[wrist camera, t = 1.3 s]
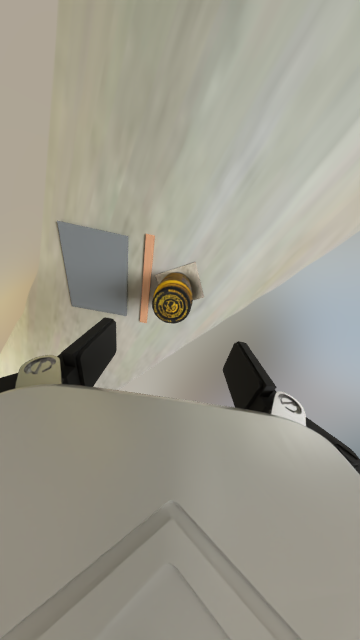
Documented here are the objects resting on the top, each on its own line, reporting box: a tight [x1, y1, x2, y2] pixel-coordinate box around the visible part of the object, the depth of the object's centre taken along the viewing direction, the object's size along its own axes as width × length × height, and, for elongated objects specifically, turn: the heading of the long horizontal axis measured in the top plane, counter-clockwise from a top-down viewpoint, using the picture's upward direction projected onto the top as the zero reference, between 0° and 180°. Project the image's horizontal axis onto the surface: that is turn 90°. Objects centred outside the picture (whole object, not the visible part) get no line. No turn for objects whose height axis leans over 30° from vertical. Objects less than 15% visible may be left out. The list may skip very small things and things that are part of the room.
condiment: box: [152, 262, 204, 323], centre depth 23 cm, size 7×8×12 cm
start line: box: [140, 234, 155, 323], centre depth 28 cm, size 18×2×1 cm, turn 169°
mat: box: [57, 221, 128, 316], centre depth 28 cm, size 16×12×1 cm
